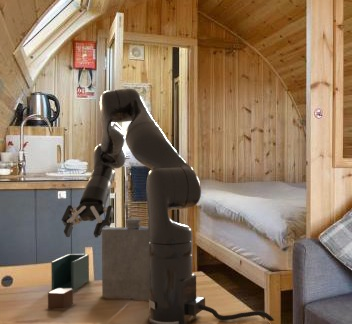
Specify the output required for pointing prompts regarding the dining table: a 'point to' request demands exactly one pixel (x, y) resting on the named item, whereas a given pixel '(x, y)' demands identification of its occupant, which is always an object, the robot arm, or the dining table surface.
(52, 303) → the walnut block
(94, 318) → the dining table surface
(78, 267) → the teal open box
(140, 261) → the hip flask
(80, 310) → the dining table surface
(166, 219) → the robot arm
